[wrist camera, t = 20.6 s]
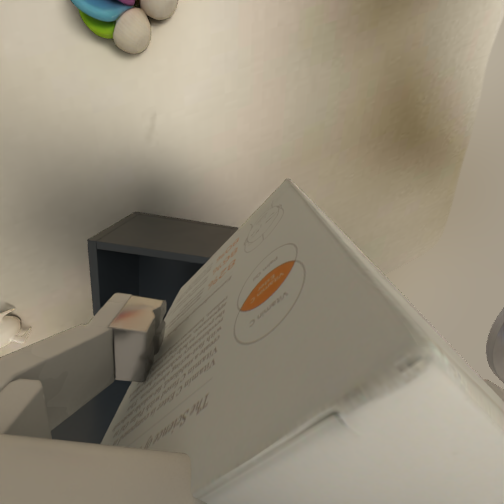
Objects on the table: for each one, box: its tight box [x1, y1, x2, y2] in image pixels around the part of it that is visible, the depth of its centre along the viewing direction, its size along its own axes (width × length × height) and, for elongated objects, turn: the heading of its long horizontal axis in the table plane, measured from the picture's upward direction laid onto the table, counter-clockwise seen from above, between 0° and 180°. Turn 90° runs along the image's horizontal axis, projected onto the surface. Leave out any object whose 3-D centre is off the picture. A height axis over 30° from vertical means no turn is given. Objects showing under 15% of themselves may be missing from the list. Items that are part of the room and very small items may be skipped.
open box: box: [87, 212, 238, 320], centre depth 33 cm, size 16×14×11 cm
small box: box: [101, 179, 504, 504], centre depth 9 cm, size 8×6×10 cm
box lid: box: [51, 380, 132, 444], centre depth 23 cm, size 16×14×5 cm
